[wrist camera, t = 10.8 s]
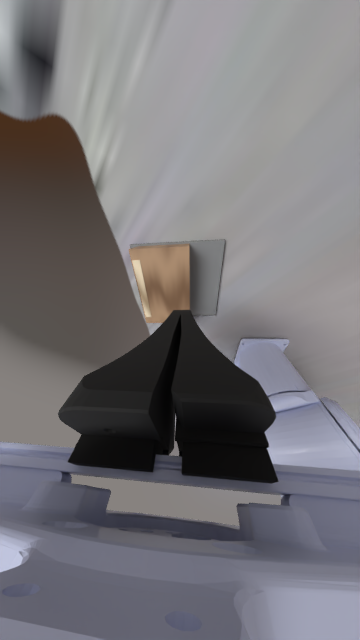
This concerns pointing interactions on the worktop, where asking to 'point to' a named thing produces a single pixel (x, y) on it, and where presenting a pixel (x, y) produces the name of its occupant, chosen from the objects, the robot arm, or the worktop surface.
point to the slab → (162, 279)
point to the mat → (202, 273)
